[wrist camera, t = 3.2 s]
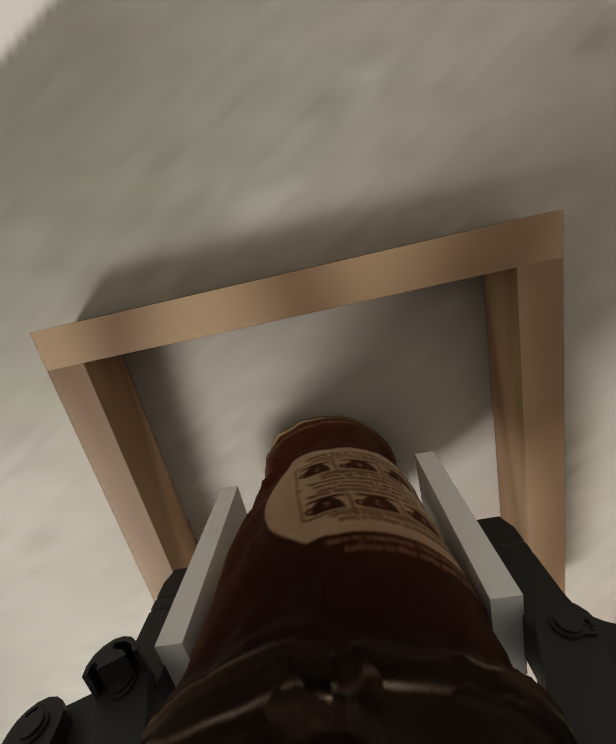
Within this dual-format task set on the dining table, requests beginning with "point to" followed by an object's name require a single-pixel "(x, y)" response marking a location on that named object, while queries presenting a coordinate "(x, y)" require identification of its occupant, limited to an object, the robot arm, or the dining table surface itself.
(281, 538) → the coffee cup
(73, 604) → the dining table surface
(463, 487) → the dining table surface
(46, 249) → the dining table surface
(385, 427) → the dining table surface
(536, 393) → the square wooden frame
